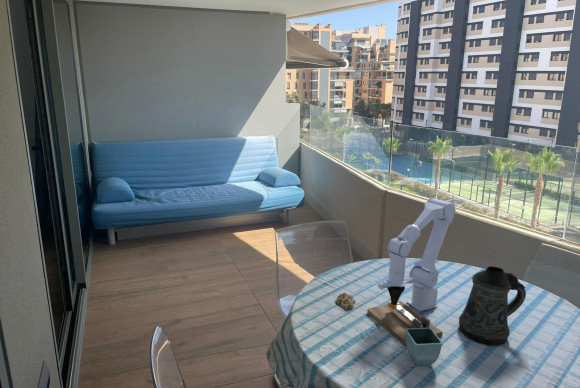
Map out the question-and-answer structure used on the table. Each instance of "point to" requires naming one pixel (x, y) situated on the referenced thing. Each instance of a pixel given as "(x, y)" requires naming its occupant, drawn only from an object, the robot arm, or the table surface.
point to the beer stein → (490, 306)
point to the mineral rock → (345, 301)
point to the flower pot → (423, 345)
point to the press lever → (403, 312)
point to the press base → (399, 321)
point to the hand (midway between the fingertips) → (394, 302)
